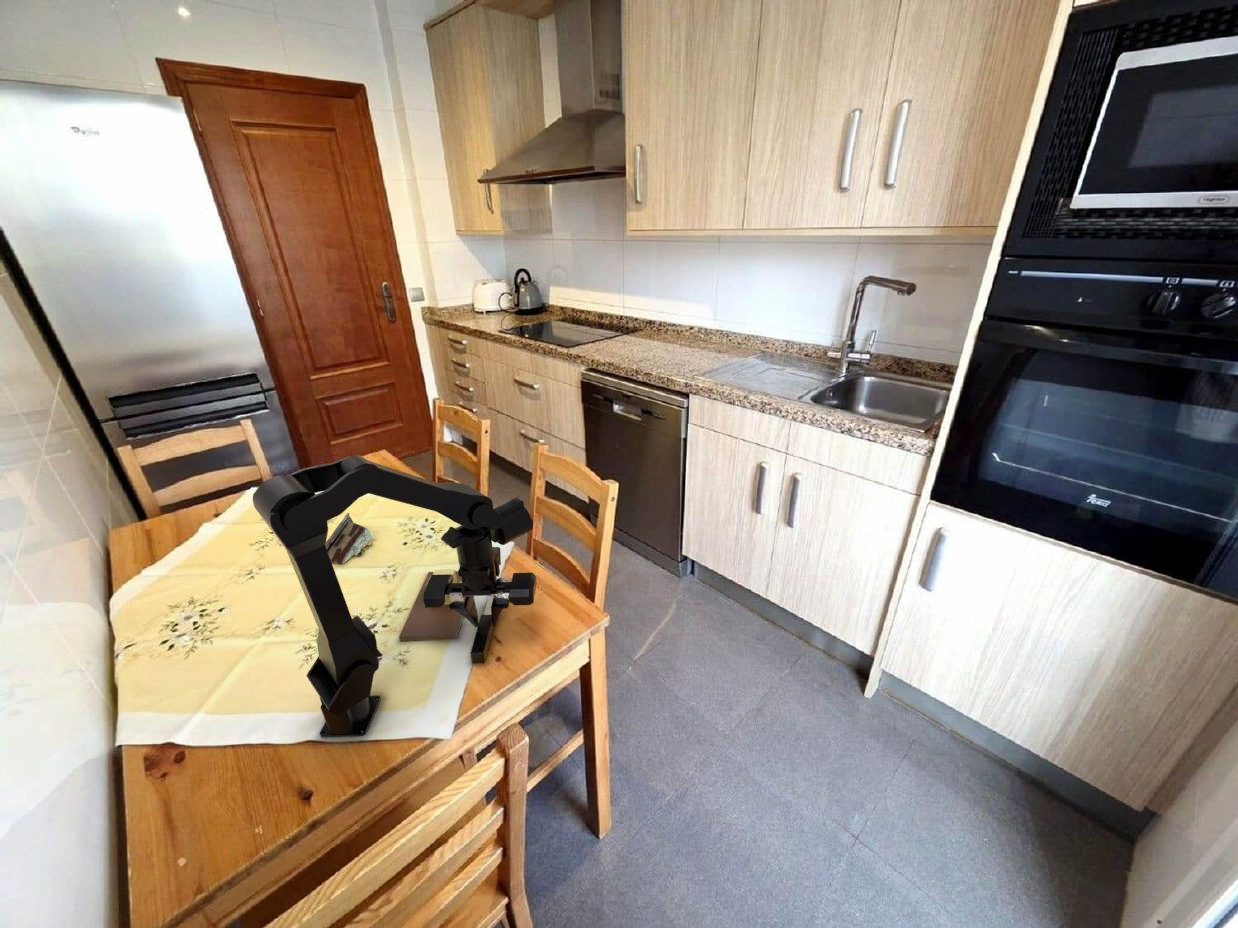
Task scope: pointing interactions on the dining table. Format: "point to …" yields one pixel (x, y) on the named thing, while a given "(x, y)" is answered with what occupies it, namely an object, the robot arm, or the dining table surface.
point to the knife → (483, 635)
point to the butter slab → (445, 572)
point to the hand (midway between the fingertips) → (486, 625)
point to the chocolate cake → (347, 540)
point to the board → (431, 620)
